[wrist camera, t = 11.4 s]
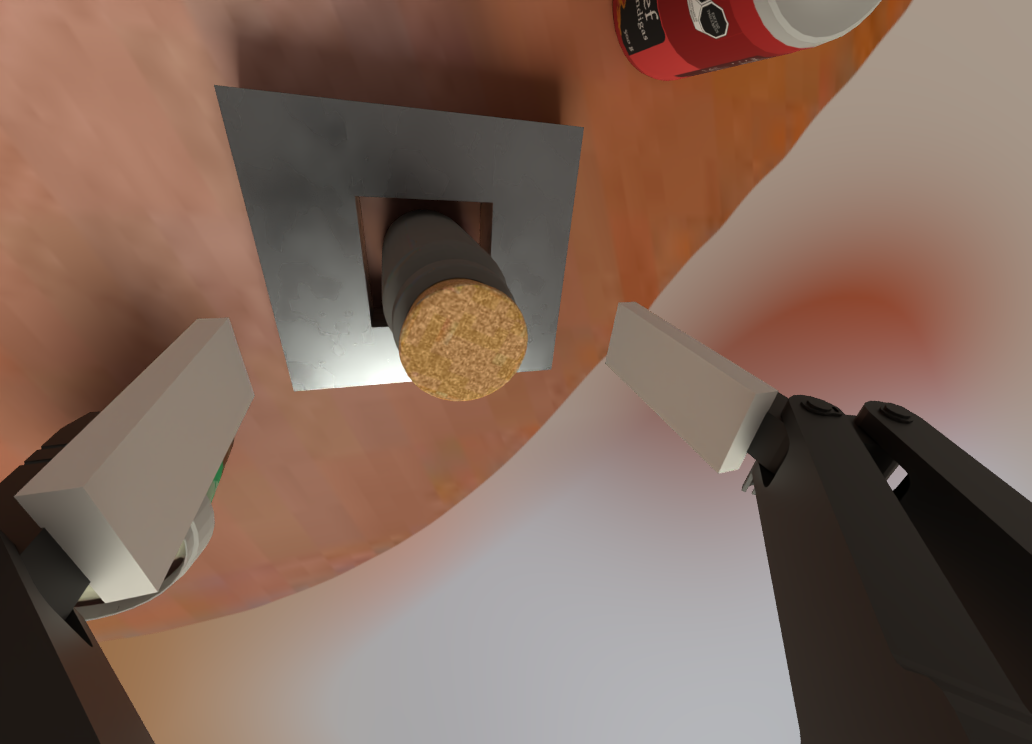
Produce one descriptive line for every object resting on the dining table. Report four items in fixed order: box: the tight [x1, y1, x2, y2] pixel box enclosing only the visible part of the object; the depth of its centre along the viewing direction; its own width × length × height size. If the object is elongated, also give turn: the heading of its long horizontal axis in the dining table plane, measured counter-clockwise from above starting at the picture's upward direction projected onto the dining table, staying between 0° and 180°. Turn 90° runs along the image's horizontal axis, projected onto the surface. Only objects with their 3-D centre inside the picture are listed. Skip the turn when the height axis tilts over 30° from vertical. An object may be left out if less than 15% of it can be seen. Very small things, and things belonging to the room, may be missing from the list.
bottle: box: [382, 210, 528, 401], centre depth 20 cm, size 6×6×15 cm
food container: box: [74, 439, 234, 621], centre depth 24 cm, size 12×6×10 cm, turn 140°
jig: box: [214, 85, 584, 391], centre depth 24 cm, size 16×18×4 cm
